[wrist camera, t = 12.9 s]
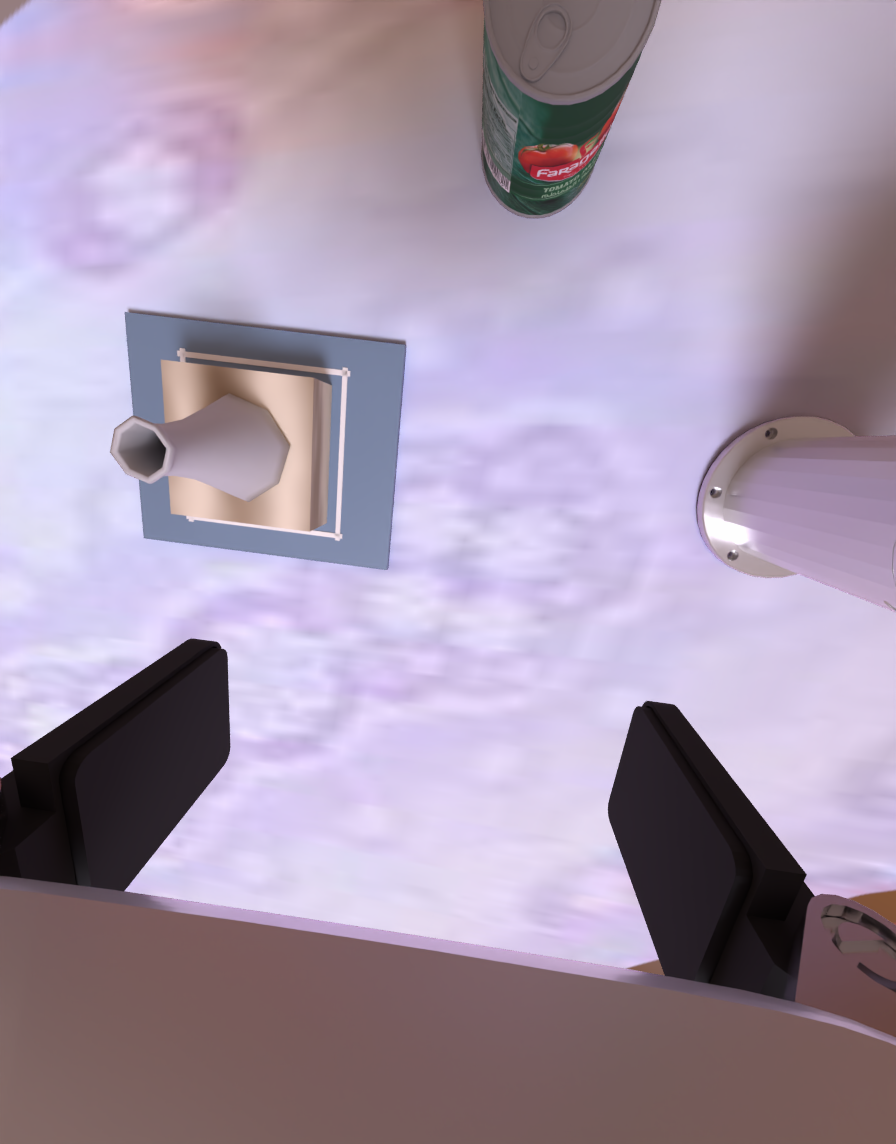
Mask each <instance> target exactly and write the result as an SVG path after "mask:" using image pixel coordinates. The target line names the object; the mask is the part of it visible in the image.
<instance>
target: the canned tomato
mask: <svg viewBox="0 0 896 1144" xmlns="http://www.w3.org/2000/svg"><path fill="white" fill-rule="evenodd" d="M660 3H661V0H483V6H484V16H485V17H484V37H483V38H484V47H483V55H484V56H483V108H482V112H483V115H482V150H481V158H482V167H483V172H484V176H485V179H486V182H487V184H488V187H489V189H490V191H491V193H492V194H493V196H494V197H495V198H496V199H497V201H498V202H499V203H500V204H501V205H502V206H503V207H504V208H506V209H507V210H508V211H510V212H512V213H514V214H516V215H518V216H521V217H525V218H543V217H548V216H551V215H553V214H556V213H558V212H560V211H562V210H563V209H565V208H566V207H567V206H569V205H570V204H571V203H572V202H573V201H574V200H575V199H576V198H577V197H578V196H579V195H580V193H581V192H582V190H583V189H584V187H585V186H586V184H587V183H588V181H589V179H590V176H591V174H592V172H593V169H594V166H595V163H596V161H597V159H598V156H599V154H600V151H601V149H602V147H603V144H604V142H605V140H606V137H607V134H608V132H609V130H610V128H611V125H612V123H613V121H614V118H615V115H616V113H617V111H618V109H619V106H620V103H621V101H622V99H623V97H624V94H625V92H626V89H627V87H628V85H629V82H630V80H631V77H632V75H633V73H634V70H635V67H636V65H637V63H638V61H639V59H640V56H641V53H642V50H643V48H644V47H645V45H646V42H647V40H648V38H649V36H650V34H651V31H652V29H653V27H654V24H655V21H656V17H657V14H658V10H659V7H660Z"/></svg>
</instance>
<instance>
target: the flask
mask: <svg viewBox="0 0 896 1144" xmlns="http://www.w3.org/2000/svg"><path fill="white" fill-rule="evenodd" d="M289 449H290V445H289V444H288V442H287V441H286V439H285V438H284V436H283V434H282V433H281V431H280V430H279V428H278V426H277V425H276V423H275V422H274V420H273V419H272V417H271V415H270V414H269V412H268V411H267V410H266V409H263V408H261V407H259V406H257V405H254V404H252V403H250V402H248V401H245V400H243V399H241V398H239V397H236V396H234V395H232V394H230V393H229V394H227V395H225V396H223V397H221V398H220V399H218V400H217V401H215V402H213V403H212V404H210V405H208V406H207V407H205V408H203V409H201V410H199V411H197V412H196V413H194V414H192V415H190V416H188V417H186V418H184V419H182V420H178V421H173V422H168V423H164V424H155V423H152V422H149V421H147V420H145V419H142V418H140V417H138V416H131V417H130V418H129V419H127V420H126V421H125V422H123V423H122V424H120V425H119V426H118V427H116V428H115V429H114V434H113V439H112V445H111V450H110V453H111V454H112V456H113V457H114V458H115V460H116V461H117V462H118V464H119V465H120V466H121V468H122V469H123V471H124V472H125V473H126V474H127V475H130V476H132V477H134V478H137V479H139V480H141V481H144V482H146V483H148V484H152V483H154V482H156V481H157V480H159V479H160V478H162V477H163V476H178V477H184V478H190V479H195V480H197V481H200V482H202V483H205V484H207V485H210V486H212V487H214V488H217V489H219V490H221V491H224V492H226V493H228V494H231V495H233V496H235V497H237V498H240V499H242V500H245V501H247V502H250V501H252V500H253V499H255V498H256V497H258V496H260V495H261V494H263V493H264V492H266V491H267V490H269V489H271V488H272V487H274V486H275V485H277V484H279V481H280V478H281V475H282V472H283V468H284V465H285V462H286V459H287V455H288V452H289Z"/></svg>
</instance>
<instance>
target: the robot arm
mask: <svg viewBox="0 0 896 1144" xmlns="http://www.w3.org/2000/svg"><path fill="white" fill-rule="evenodd" d="M766 432H767V434H766V436H765V433H766ZM711 490H713V492H712V494H710V491H711ZM697 516H698V525H699V529H700V532H701V536H702V538H703V540H704V542H705V543H706V545H707V547H708V549H709V550H710V551H711V552H712V553H713V554H714V555H715V557H716V558H717V559H719V560H720V561H721V562H723V563H724V564H726V565H727V566H729V567H731V568H733V569H735V570H737V571H739V572H741V573H744V574H747V575H750V576H754V577H762V578H782V577H787V576H792V575H797V574H800V575H802V576H805V577H807V578H810V579H812V580H815V581H817V582H820V583H822V584H825V585H828V586H830V587H833V588H835V589H838V590H840V591H843V592H845V593H848V594H850V595H853V596H856V597H858V598H861V599H863V600H866V601H868V602H871V603H873V604H876V605H878V606H881V607H884V608H886V609H889V610H891V611H894V612H896V435H890V436H855V435H854V434H853V433H852V432H850V431H849V430H848V429H847V428H845V427H844V426H842V425H840V424H838V423H835V422H833V421H831V420H828V419H823V418H819V417H808V416H796V417H787V418H780V419H777V420H773V421H769V422H765V423H763V424H761V425H759V426H757V427H754V428H752V429H750V430H748V431H747V432H745V433H744V434H742V435H741V436H739V437H738V438H736V439H735V440H734V441H733V442H732V443H731V444H729V445H728V446H727V447H726V448H725V449H724V450H723V451H722V452H721V453H720V455H719V456H718V457H717V459H716V460H715V461H714V462H713V464H712V465H711V467H710V469H709V471H708V473H707V474H706V476H705V478H704V481H703V484H702V487H701V490H700V493H699V498H698V506H697ZM728 553H729V555H728ZM229 752H230V722H229V690H228V658H227V652H226V650H224V649H221V646H220V644H219V643H218V642H214V641H207V640H200V639H189V640H187V641H185V642H184V643H182V644H181V645H179V646H178V647H176V648H175V649H173V650H172V651H170V652H169V653H167V654H166V655H164V656H163V657H161V658H160V659H159V660H157V661H156V662H154V663H153V664H151V665H150V666H148V667H147V668H145V669H144V670H142V671H141V672H139V673H138V674H136V675H135V676H133V677H132V678H130V679H129V680H127V681H126V682H124V683H123V684H121V685H120V686H118V687H117V688H115V689H114V690H112V691H111V692H109V693H108V694H106V695H105V696H103V697H102V698H100V699H99V700H97V701H96V702H94V703H93V704H91V705H90V706H88V707H87V708H85V709H84V710H82V711H81V712H79V713H78V714H76V715H75V716H73V717H72V718H70V719H69V720H67V721H66V722H64V723H63V724H61V725H60V726H58V727H57V728H55V729H54V730H52V731H51V732H49V733H48V734H46V735H45V736H43V737H42V738H40V739H39V740H37V741H36V742H34V743H33V744H31V745H30V746H28V747H27V748H25V749H24V750H22V751H21V752H19V753H18V754H16V755H15V756H13V757H12V758H11V761H12V766H13V771H12V772H10V773H9V774H7V775H6V776H4V777H3V778H2V779H1V778H0V1144H896V926H895V925H894V924H893V923H891V922H890V921H888V920H887V919H885V918H884V917H882V916H880V915H879V914H878V913H876V912H874V911H873V910H871V909H869V908H867V907H865V906H863V905H861V904H859V903H857V902H855V901H853V900H850V899H847V898H843V897H840V896H837V895H829V894H820V895H818V896H814V894H813V893H812V892H811V891H810V889H809V888H808V887H807V885H806V884H805V883H804V879H805V877H806V875H807V874H806V873H805V872H804V871H803V869H802V868H801V867H800V865H799V864H798V863H797V861H796V860H795V859H794V858H793V856H792V855H791V854H790V852H789V851H788V850H787V849H786V847H785V846H784V845H783V843H782V842H781V841H780V840H779V838H778V837H777V836H776V834H775V833H774V832H773V830H772V829H771V828H770V827H769V825H768V824H767V823H766V821H765V820H764V819H763V818H762V816H761V815H760V814H759V812H758V811H757V810H756V809H755V807H754V806H753V805H752V803H751V802H750V801H749V799H748V798H747V797H746V796H745V794H744V793H743V792H742V790H741V789H740V788H739V787H738V785H737V784H736V783H735V781H734V780H733V779H732V778H731V776H730V775H729V774H728V772H727V771H726V770H725V768H724V767H723V766H722V765H721V763H720V762H719V761H718V759H717V758H716V757H715V756H714V754H713V753H712V752H711V750H710V749H709V748H708V746H707V745H706V744H705V743H704V741H703V740H702V739H701V737H700V736H699V735H698V734H697V732H696V731H695V730H694V728H693V727H692V726H691V725H690V723H689V722H688V721H687V719H686V718H685V717H684V715H683V714H682V713H681V712H680V710H679V709H678V708H677V707H676V706H675V705H673V704H666V703H659V702H652V701H646V702H645V703H644V704H643V706H642V707H640V706H638V707H636V708H635V710H634V712H633V716H632V720H631V723H630V727H629V730H628V734H627V738H626V741H625V745H624V748H623V752H622V756H621V759H620V763H619V766H618V770H617V774H616V777H615V781H614V784H613V788H612V792H611V795H610V799H609V803H608V815H609V820H610V823H611V826H612V829H613V832H614V835H615V837H616V840H617V843H618V846H619V849H620V851H621V854H622V857H623V860H624V863H625V865H626V868H627V871H628V874H629V877H630V879H631V882H632V885H633V888H634V890H635V893H636V896H637V899H638V902H639V904H640V907H641V910H642V913H643V916H644V918H645V921H646V924H647V927H648V930H649V932H650V935H651V938H652V941H653V944H654V946H655V949H656V952H657V955H658V958H659V960H660V963H661V966H662V969H663V972H664V974H665V976H663V975H658V974H652V973H646V972H641V971H635V970H630V969H624V968H618V967H611V966H605V965H599V964H593V963H586V962H580V961H574V960H568V959H562V958H555V957H549V956H543V955H537V954H530V953H524V952H518V951H512V950H506V949H499V948H493V947H487V946H481V945H474V944H468V943H462V942H455V941H449V940H442V939H436V938H430V937H423V936H417V935H410V934H404V933H397V932H391V931H384V930H378V929H371V928H365V927H358V926H352V925H345V924H339V923H332V922H326V921H319V920H313V919H306V918H300V917H293V916H287V915H280V914H273V913H267V912H260V911H253V910H246V909H240V908H233V907H226V906H219V905H212V904H206V903H199V902H192V901H185V900H178V899H172V898H165V897H158V896H151V895H145V894H138V893H131V892H124V891H125V889H126V888H127V887H128V886H129V884H130V883H131V882H132V881H133V879H134V878H135V877H136V876H137V874H138V873H139V872H140V871H141V869H142V868H143V867H144V866H145V864H146V863H147V862H148V860H149V859H150V858H151V857H152V855H153V854H154V853H155V852H156V850H157V849H158V848H159V847H160V845H161V844H162V843H163V842H164V840H165V839H166V838H167V836H168V835H169V834H170V833H171V831H172V830H173V829H174V828H175V826H176V825H177V824H178V823H179V821H180V820H181V819H182V818H183V816H184V815H185V814H186V813H187V811H188V810H189V809H190V807H191V806H192V805H193V804H194V802H195V801H196V800H197V799H198V797H199V796H200V795H201V794H202V792H203V791H204V790H205V789H206V787H207V786H208V785H209V784H210V782H211V781H212V780H213V778H214V777H215V776H216V775H217V773H218V772H219V771H220V770H221V768H222V767H223V766H224V764H225V763H226V761H227V759H228V756H229Z"/></svg>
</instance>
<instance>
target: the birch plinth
mask: <svg viewBox="0 0 896 1144" xmlns="http://www.w3.org/2000/svg"><path fill="white" fill-rule="evenodd" d="M161 371H162V386H163V402H164V417H165V423H168V422H173V421H178V420H182V419H184V418H186V417H188V416H190V415H192V414H194V413H196V412H197V411H199V410H201V409H203V408H205V407H207V406H208V405H210V404H212V403H213V402H215V401H217V400H218V399H220V398H221V397H223V396H225V395H227V394H229V393H230V394H232V395H234V396H236V397H239V398H241V399H243V400H245V401H248V402H250V403H252V404H254V405H257V406H259V407H261V408H263V409H266V410H267V411H268V412H269V414H270V415H271V417H272V419H273V420H274V422H275V423H276V425H277V426H278V428H279V430H280V431H281V433H282V434H283V436H284V438H285V439H286V441H287V442H288V444H289V445H290V449H289V452H288V455H287V459H286V462H285V465H284V468H283V472H282V475H281V478H280V481H279V484H277V485H275V486H274V487H272V488H271V489H269V490H267V491H266V492H264V493H263V494H261V495H260V496H258V497H256V498H255V499H253V500H252V501H250V502H247V501H245V500H242V499H240V498H237V497H235V496H233V495H231V494H228V493H226V492H224V491H221V490H219V489H217V488H214V487H212V486H210V485H207V484H205V483H202V482H200V481H197V480H195V479H190V478H184V477H178V476H168V478H169V493H170V508H171V514H177V515H184V516H192V517H200V518H207V519H215V520H223V521H231V522H238V523H246V524H254V525H262V526H269V527H277V528H285V529H293V530H300V531H308V532H310V531H312V530H314V529H316V528H318V527H320V526H322V525H324V524H326V523H327V509H328V482H329V456H330V429H331V403H332V385H330V384H327V383H325V382H323V381H320V380H318V379H316V378H312V377H303V376H295V375H286V374H278V373H270V372H261V371H253V370H245V369H236V368H228V367H219V366H211V365H203V364H194V363H186V362H178V361H169V360H161Z"/></svg>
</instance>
